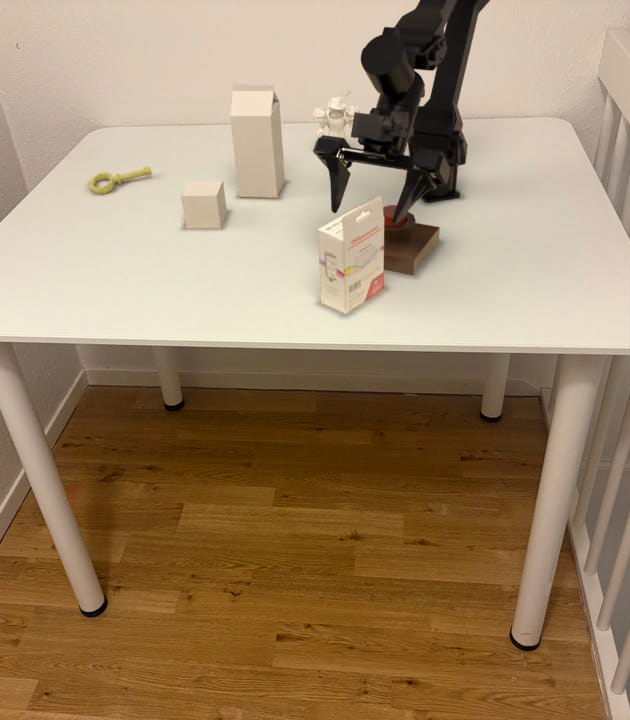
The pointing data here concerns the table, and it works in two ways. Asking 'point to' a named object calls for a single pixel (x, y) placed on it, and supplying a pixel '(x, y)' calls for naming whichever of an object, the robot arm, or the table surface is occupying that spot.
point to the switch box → (408, 245)
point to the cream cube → (204, 204)
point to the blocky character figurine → (335, 117)
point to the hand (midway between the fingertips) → (363, 217)
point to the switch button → (391, 216)
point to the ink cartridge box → (352, 256)
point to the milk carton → (257, 140)
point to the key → (115, 179)
